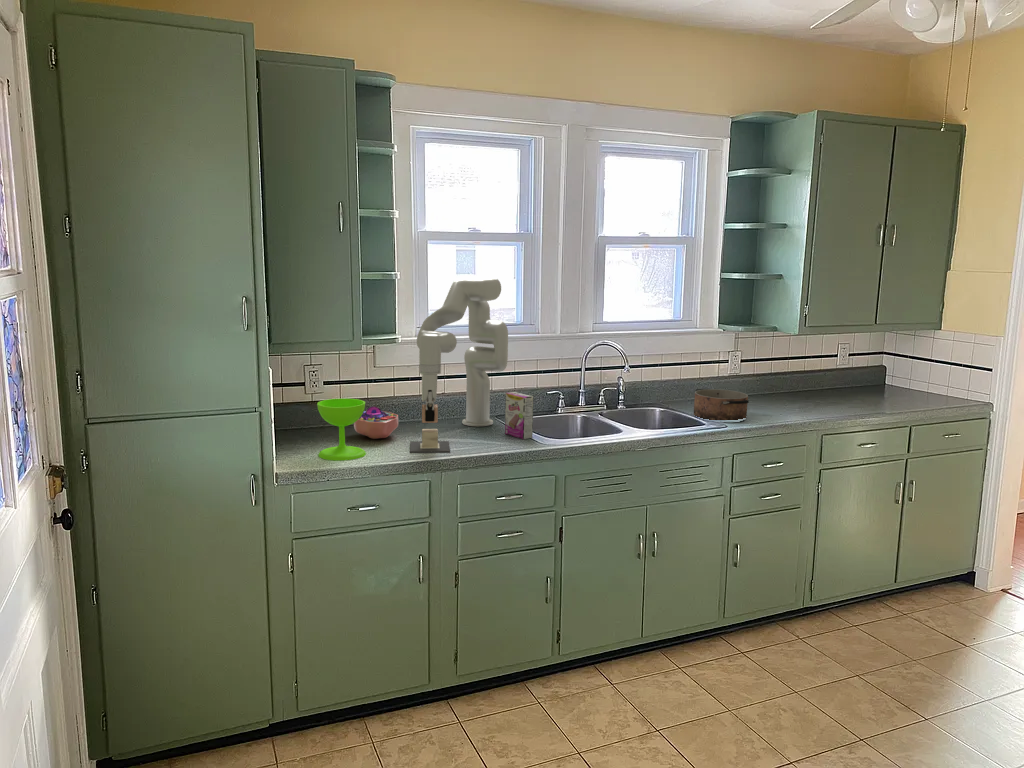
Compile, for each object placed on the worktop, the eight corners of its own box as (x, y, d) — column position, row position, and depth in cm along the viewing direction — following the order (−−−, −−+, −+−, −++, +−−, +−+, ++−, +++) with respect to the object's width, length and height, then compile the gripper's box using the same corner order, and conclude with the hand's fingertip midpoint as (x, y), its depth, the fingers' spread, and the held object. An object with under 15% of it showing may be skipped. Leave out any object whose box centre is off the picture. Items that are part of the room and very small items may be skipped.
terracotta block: (422, 419, 278) (422, 404, 277) (437, 419, 279) (437, 404, 278) (421, 422, 273) (422, 407, 272) (437, 422, 273) (437, 407, 272)
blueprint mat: (410, 442, 283) (410, 441, 283) (448, 442, 285) (448, 440, 285) (409, 452, 270) (409, 450, 270) (450, 452, 271) (450, 450, 271)
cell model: (355, 445, 279) (354, 414, 277) (350, 432, 298) (349, 403, 296) (402, 442, 284) (401, 412, 282) (394, 430, 302) (394, 401, 300)
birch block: (422, 443, 280) (422, 428, 279) (437, 443, 280) (437, 428, 279) (422, 447, 274) (422, 432, 273) (437, 447, 275) (437, 432, 274)
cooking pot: (678, 412, 348) (679, 388, 347) (719, 409, 357) (721, 386, 355) (719, 427, 321) (721, 401, 319) (763, 423, 329) (765, 398, 327)
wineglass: (357, 446, 277) (357, 397, 274) (372, 457, 263) (371, 405, 260) (313, 451, 269) (311, 400, 266) (325, 462, 255) (324, 409, 252)
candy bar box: (503, 434, 300) (504, 392, 297) (513, 432, 303) (514, 391, 300) (523, 440, 291) (524, 397, 288) (533, 438, 295) (534, 395, 292)
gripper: (419, 365, 280) (419, 414, 283) (419, 372, 264) (419, 424, 267) (440, 365, 281) (439, 414, 284) (441, 372, 264) (441, 424, 267)
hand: (429, 418), depth 275 cm, fingers closed on terracotta block, 5 cm apart
